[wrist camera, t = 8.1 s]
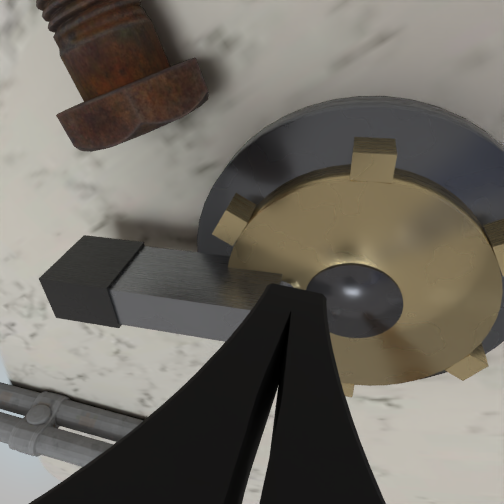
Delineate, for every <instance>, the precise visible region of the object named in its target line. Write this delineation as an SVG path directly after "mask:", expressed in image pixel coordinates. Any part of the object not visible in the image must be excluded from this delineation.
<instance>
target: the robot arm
mask: <svg viewBox="0 0 504 504" xmlns="http://www.w3.org/2000/svg"><path fill="white" fill-rule="evenodd" d="M278 385H279V386H278ZM277 388H278V394H277V402H276V410H275V418H274V426H273V434H272V442H271V450H270V458H269V462H268V467H267V472H266V476H265V481H264V485H263V490H262V495H261V499H260V504H386V503H385V501H384V499H383V496H382V494H381V492H380V489H379V487H378V485H377V482H376V480H375V477H374V475H373V473H372V470H371V468H370V465H369V463H368V460H367V458H366V455H365V452H364V450H363V447H362V445H361V442H360V439H359V437H358V434H357V431H356V428H355V425H354V422H353V420H352V417H351V414H350V410H349V407H348V404H347V401H346V398H345V394H344V391H343V388H342V384H341V381H340V377H339V373H338V369H337V365H336V361H335V357H334V353H333V348H332V343H331V338H330V332H329V326H328V318H327V298H326V297H325V296H324V295H323V294H321V293H317V292H312V291H307V290H302V289H298V288H293V287H288V286H284V285H279V284H274V283H271V284H269V285H267V287H266V288H265V290H264V292H263V294H262V295H261V297H260V298H259V300H258V301H257V303H256V304H255V306H254V307H253V308H252V310H251V311H250V312H249V314H248V315H247V316H246V318H245V319H244V320H243V322H242V323H241V324H240V325H239V326H238V328H237V329H236V330H235V331H234V332H233V334H232V335H231V336H230V337H229V338H228V340H227V341H226V342H225V343H224V344H223V345H222V347H221V348H220V349H219V350H218V351H217V352H216V353H215V354H214V355H213V356H212V357H211V358H210V359H209V360H208V361H207V363H206V364H205V365H204V366H203V367H202V368H201V369H200V370H199V371H198V372H197V373H196V374H195V375H194V376H193V377H192V378H191V379H190V380H189V381H188V382H187V383H186V384H185V385H184V386H183V387H182V388H180V389H179V390H178V391H177V392H176V393H175V394H174V395H173V396H172V397H171V398H170V399H168V400H167V401H166V402H165V403H164V404H163V405H162V406H161V407H159V408H158V409H157V410H156V411H155V412H153V413H152V414H151V415H150V416H149V417H147V418H146V419H145V420H144V421H143V422H141V423H140V424H139V425H138V426H137V427H135V428H134V429H133V430H132V431H131V432H129V433H128V434H127V435H125V436H124V437H123V438H122V439H120V440H119V441H118V442H116V443H115V444H114V445H113V446H111V447H110V448H108V449H107V450H106V451H104V452H103V453H102V454H100V455H99V456H97V457H96V458H95V459H93V460H92V461H90V462H89V463H88V464H86V465H85V466H83V467H82V468H81V469H79V470H78V471H77V472H75V473H74V474H72V475H71V476H70V477H68V478H67V479H65V480H64V481H63V482H61V483H60V484H58V485H57V486H55V487H54V488H52V489H51V490H49V491H48V492H46V493H45V494H43V495H42V496H40V497H38V498H37V499H35V500H34V501H32V502H31V503H29V504H242V501H243V497H244V492H245V489H246V485H247V482H248V478H249V475H250V471H251V468H252V465H253V462H254V459H255V456H256V453H257V450H258V447H259V443H260V440H261V437H262V434H263V431H264V428H265V425H266V422H267V419H268V416H269V413H270V410H271V407H272V403H273V400H274V397H275V394H276V391H277Z"/></svg>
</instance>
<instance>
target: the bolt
mask: <svg viewBox="0 0 504 504" xmlns="http://www.w3.org/2000/svg"><path fill="white" fill-rule="evenodd" d="M140 3H141V2H140V0H37V1H36V6H37V8H38V9H40V10H42V11H43V13H42V17H43V18H44V20H45V21H48V22H49V24H48V29H49V31H52V32H55V35H54V39H55V41H56V43H57V45H58V47H59V50H60V57H61V59H62V61H63V62H64V64H65V66H66V68H67V70H68V72H69V74H70V76H71V78H72V80H73V81H74V83H75V85H76V87H77V89H78V91H79V93H80V95H81V97H82V99H83V100H84V102H83V103H80V104H78V105H76V106H74V107H71V108H69V109H67V110H65V111H63V112H61V113H59V114H57V115H56V116H57V118H58V119H59V121H60V123H61V124H62V126H63V128H64V130H65V131H66V133H67V135H68V137H69V138H70V140H71V142H72V143H73V145H74V147H76V148H77V149H79V150H81V151H91V152H92V151H96V150H101V149H106V148H109V147H113V146H116V145H118V144H121V143H123V142H126V141H128V140H131V139H133V138H136V137H138V136H141V135H143V134H146V133H148V132H150V131H152V130H155V129H157V128H159V127H161V126H164V125H166V124H168V123H171V122H173V121H175V120H178V119H180V118H182V117H184V116H185V115H187V114H189V113H190V112H192V111H193V110H195V109H197V108H198V107H200V106H201V105H202V104H203V103H205V102H206V101H207V100H208V97H209V94H208V89H207V86H206V84H205V81H204V78H203V76H202V73H201V70H200V68H199V65H198V62H197V60H196V58H192V59H189V60H186V61H184V62H181V63H178V64H176V65H173V66H170V65H169V62H168V60H167V58H166V55H165V53H164V50H163V48H162V45H161V43H160V41H159V38H158V36H157V33H156V31H155V29H154V26H153V24H152V21H151V20H150V19H149V18H148V17H147V15H146V13H145V11H144V9H143V8H141V7H140Z"/></svg>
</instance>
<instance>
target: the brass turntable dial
mask: <svg viewBox="0 0 504 504" xmlns="http://www.w3.org/2000/svg"><path fill="white" fill-rule="evenodd" d="M396 159H397V149H396V142H395V139H389V138H369V137H354V145H353V153H352V162H351V164H347V165H339V166H331V167H327V168H323V169H318V170H314V171H311V172H309V173H306V174H303V175H301V176H298V177H296V178H294V179H292V180H290V181H288V182H286V183H284V184H283V185H281V186H279V187H278V188H277V189H275V190H274V191H273V192H271V193H270V194H268V195H267V196H266V197H265V198H264V199H263V200H262V201H261V202H260V203H259V204H258V205H257V206H256V204H254V203H252V202H251V201H249V200H247V199H246V198H244V197H242V196H241V195H239V194H237V193H236V194H235V195H234V197H233V199H232V200H231V202H230V204H229V206H228V207H227V209H226V211H225V212H224V214H223V216H222V217H221V219H220V221H219V223H218V224H217V226H216V228H215V229H214V231H213V233H212V235H214V236H216V237H218V238H219V239H221V240H223V241H224V242H226V243H228V244H230V245H231V246H233V245H234V243H235V242H236V243H235V245H234V247H233V250H232V253H231V256H224V255H216V254H207V253H199V252H190V251H182V250H173V249H165V248H156V247H148V246H145V245H144V242H137V241H129V240H120V239H111V238H103V237H94V236H85V235H84V236H83V237H82V238H81V239H80V240H79V241H78V242H77V243H76V244H75V245H73V246H72V247H71V248H70V249H69V250H68V251H67V252H66V253H65V254H64V255H63V256H62V257H61V258H60V259H59V260H58V261H57V262H56V263H55V264H54V265H53V266H51V267H50V268H49V269H48V270H47V271H46V272H45V273H44V274H43V275H42V276H41V277H40V278H39V280H40V282H41V285H42V287H43V289H44V291H45V294H46V296H47V298H48V301H49V303H50V305H51V307H52V310H53V312H54V314H55V316H56V318H61V319H67V320H73V321H79V322H85V323H91V324H97V325H103V326H109V327H115V328H120V326H121V325H128V326H134V327H140V328H146V329H152V330H158V331H165V332H171V333H177V334H183V335H189V336H195V337H201V338H207V339H213V340H219V341H225V342H226V341H227V340H228V338H229V337H230V336H231V335H232V334H233V332H234V331H235V330H236V329H237V328H238V326H239V325H240V324H241V323H242V322H243V320H244V319H245V318H246V316H247V315H248V314H249V312H250V311H251V310H252V308H253V307H254V306H255V304H256V303H257V301H258V300H259V298H260V297H261V295H262V294H263V292H264V290H265V288H266V287H267V285H269V284H271V283H274V284H279V285H284V286H288V287H293V288H298V289H302V290H307V291H312V292H317V293H321V294H323V295H324V296H325V297H326V298H327V318H328V326H329V332H330V338H331V343H332V348H333V353H334V357H335V361H336V365H337V369H338V373H339V377H340V381H341V384H342V388H343V391H344V394H345V396H348V397H352V395H353V390H354V385H390V384H399V383H404V382H409V381H414V380H418V379H421V378H425V377H428V376H431V375H433V374H436V373H438V372H441V371H443V370H445V371H447V372H449V373H450V374H452V375H454V376H456V377H457V378H459V379H461V380H462V381H464V380H465V379H467V378H469V377H470V376H472V375H474V374H476V373H477V372H479V371H481V370H482V369H484V368H486V367H488V363H487V359H486V356H485V352H484V349H483V345H482V341H483V340H484V338H485V337H486V336H487V335H488V333H489V332H490V330H491V328H492V326H493V325H494V323H495V321H496V319H497V316H498V313H499V310H500V307H501V300H502V293H503V290H502V276H501V273H502V275H503V276H504V219H500V220H497V221H494V222H491V223H488V224H484V225H483V226H484V229H485V231H486V233H485V231H484V229H483V227H482V225H481V223H480V222H479V220H478V219H477V218H476V216H475V215H474V213H473V212H472V211H471V210H470V209H469V208H468V207H467V206H466V205H465V204H464V203H463V202H462V201H461V200H460V199H459V198H458V197H457V196H455V195H454V194H453V193H451V192H450V191H449V190H447V189H446V188H445V187H443V186H441V185H439V184H437V183H435V182H434V181H432V180H430V179H428V178H426V177H423V176H420V175H418V174H415V173H413V172H410V171H406V170H402V169H398V168H395V164H396ZM255 207H256V208H255ZM486 234H487V235H486ZM236 240H237V241H236ZM500 270H501V272H500Z"/></svg>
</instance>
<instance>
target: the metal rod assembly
mask: <svg viewBox="0 0 504 504" xmlns="http://www.w3.org/2000/svg"><path fill="white" fill-rule="evenodd" d="M0 409H3V410H6V411H10V412H13V413H17V414H21V415H24V416H25V417H24V418H19V417H16V416H12V415H9V414H5V413H2V412H0V441H1V442H4V443H7V444H9V447H10V448H11V449H13V450H17V451H19V452H22V453H25V454H28V455H32V456H36V457H37V456H40V455H44V456H48V457H51V458H54V459H58V460H61V461H65V462H68V463H71V464H75V465H78V466H81V467H83V466H85V465H86V464H88V463H89V462H90V461H92V460H93V459H95V458H96V457H97V456H99V455H100V454H102V453H103V452H104V451H106V450H107V449H108V448H110V447H111V446H113V444H110V443H106V442H103V441H99V440H96V439H92V438H89V437H85V436H82V435H78V434H75V433H72V432H68V431H65V430H61V429H58V427H59V426H63V427H66V428H70V429H73V430H77V431H80V432H84V433H87V434H91V435H95V436H98V437H102V438H105V439H109V440H112V441H116V442H118V441H119V440H120V439H122V438H123V437H124V436H125V435H127V434H128V433H129V432H131V431H132V430H133V429H134V428H135V427H137V426H138V425H139V424H140V423H141V422H143V420H140V419H136V418H133V417H129V416H125V415H122V414H118V413H114V412H111V411H107V410H104V409H100V408H96V407H93V406H89V405H85V404H82V403H78V402H75V401H71V400H70V399H69V397H66V396H64V395H60V394H57V393H52V392H48V391H44V392H42V393H39V392H35V391H31V390H27V389H24V388H20V387H16V386H12V385H8V384H4V383H0Z"/></svg>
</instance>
